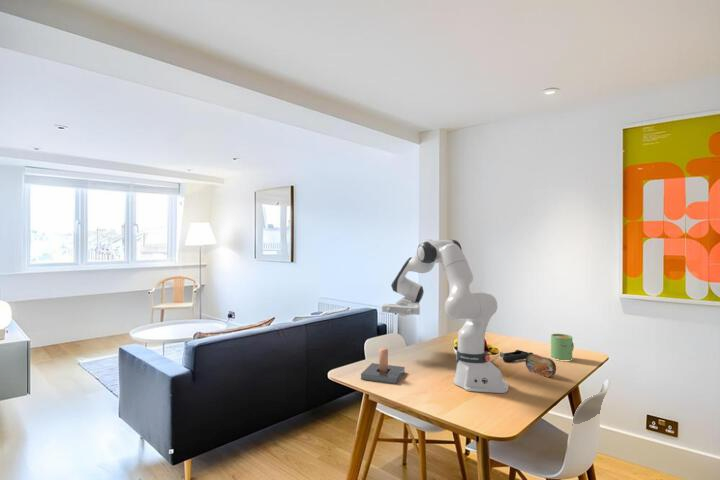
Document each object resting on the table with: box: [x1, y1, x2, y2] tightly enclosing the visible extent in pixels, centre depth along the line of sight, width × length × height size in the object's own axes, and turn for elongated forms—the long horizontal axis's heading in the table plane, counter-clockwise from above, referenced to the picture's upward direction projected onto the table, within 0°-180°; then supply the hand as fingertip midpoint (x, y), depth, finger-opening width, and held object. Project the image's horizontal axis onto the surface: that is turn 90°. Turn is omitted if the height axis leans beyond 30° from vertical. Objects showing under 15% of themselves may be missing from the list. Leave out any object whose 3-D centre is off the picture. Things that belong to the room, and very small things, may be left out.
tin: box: [524, 353, 557, 378], centre depth 185 cm, size 15×3×8 cm, turn 27°
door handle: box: [499, 349, 534, 363], centre depth 211 cm, size 3×20×16 cm
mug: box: [550, 333, 575, 360], centre depth 209 cm, size 13×10×12 cm
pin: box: [378, 347, 389, 373], centre depth 180 cm, size 4×4×12 cm
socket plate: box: [360, 362, 406, 385], centre depth 180 cm, size 16×16×2 cm
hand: (397, 311), depth 203 cm, fingers open, 8 cm apart
